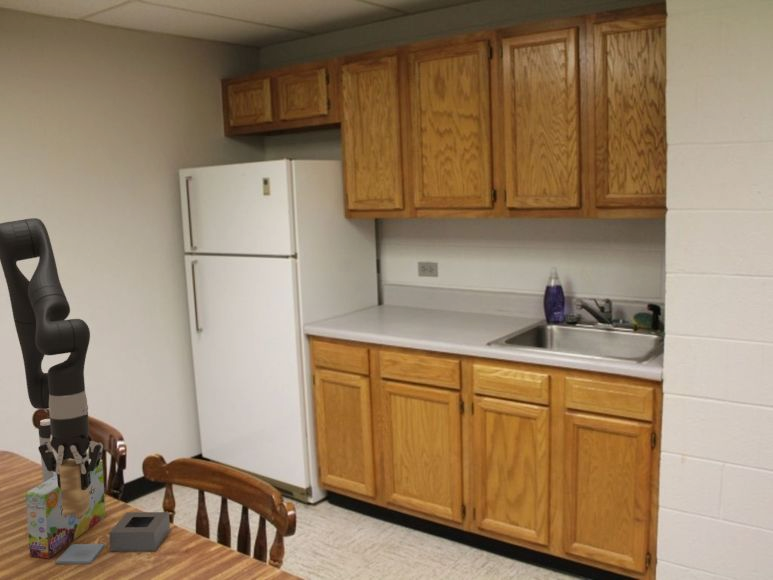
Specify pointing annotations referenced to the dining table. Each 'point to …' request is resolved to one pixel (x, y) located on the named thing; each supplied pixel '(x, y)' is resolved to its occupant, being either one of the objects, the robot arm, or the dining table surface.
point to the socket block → (139, 531)
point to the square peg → (73, 490)
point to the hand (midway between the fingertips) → (74, 488)
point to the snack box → (60, 515)
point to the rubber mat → (80, 554)
